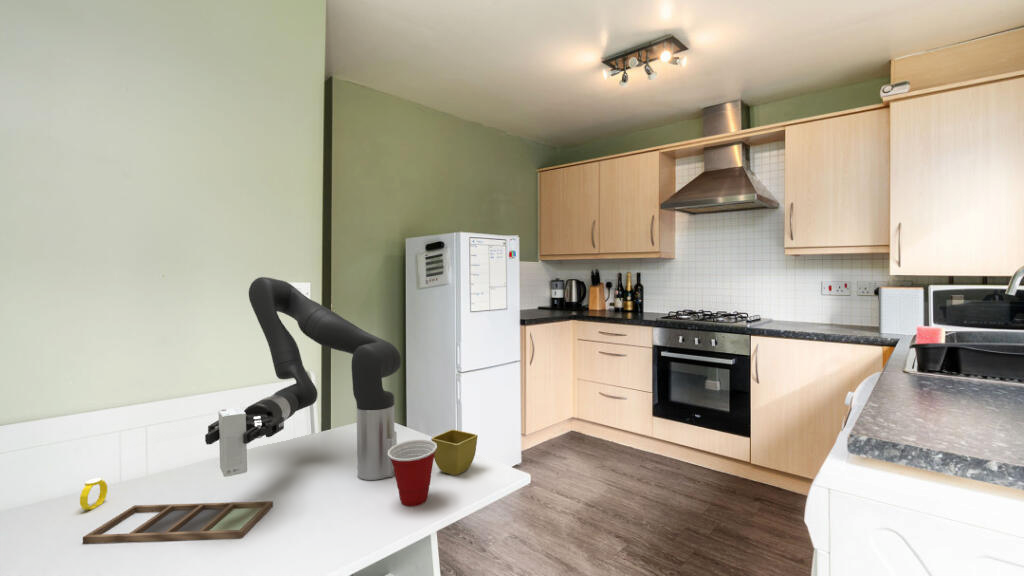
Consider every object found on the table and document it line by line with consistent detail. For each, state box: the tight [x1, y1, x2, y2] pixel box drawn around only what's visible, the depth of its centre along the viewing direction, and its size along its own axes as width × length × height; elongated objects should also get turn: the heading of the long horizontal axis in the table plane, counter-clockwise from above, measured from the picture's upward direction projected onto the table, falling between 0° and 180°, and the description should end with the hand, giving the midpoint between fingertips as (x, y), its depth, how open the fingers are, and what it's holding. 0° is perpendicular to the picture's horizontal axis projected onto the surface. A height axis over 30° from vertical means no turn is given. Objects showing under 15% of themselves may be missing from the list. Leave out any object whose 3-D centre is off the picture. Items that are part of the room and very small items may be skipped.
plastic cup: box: [388, 438, 437, 507], centre depth 103 cm, size 11×11×12 cm
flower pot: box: [430, 429, 478, 476], centre depth 119 cm, size 9×9×9 cm
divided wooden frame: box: [82, 500, 274, 545], centre depth 94 cm, size 29×13×1 cm, turn 92°
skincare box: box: [218, 406, 248, 478], centre depth 94 cm, size 6×4×12 cm
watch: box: [79, 477, 108, 511], centre depth 102 cm, size 6×3×6 cm, turn 7°
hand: (226, 439), depth 92 cm, fingers closed on skincare box, 6 cm apart
